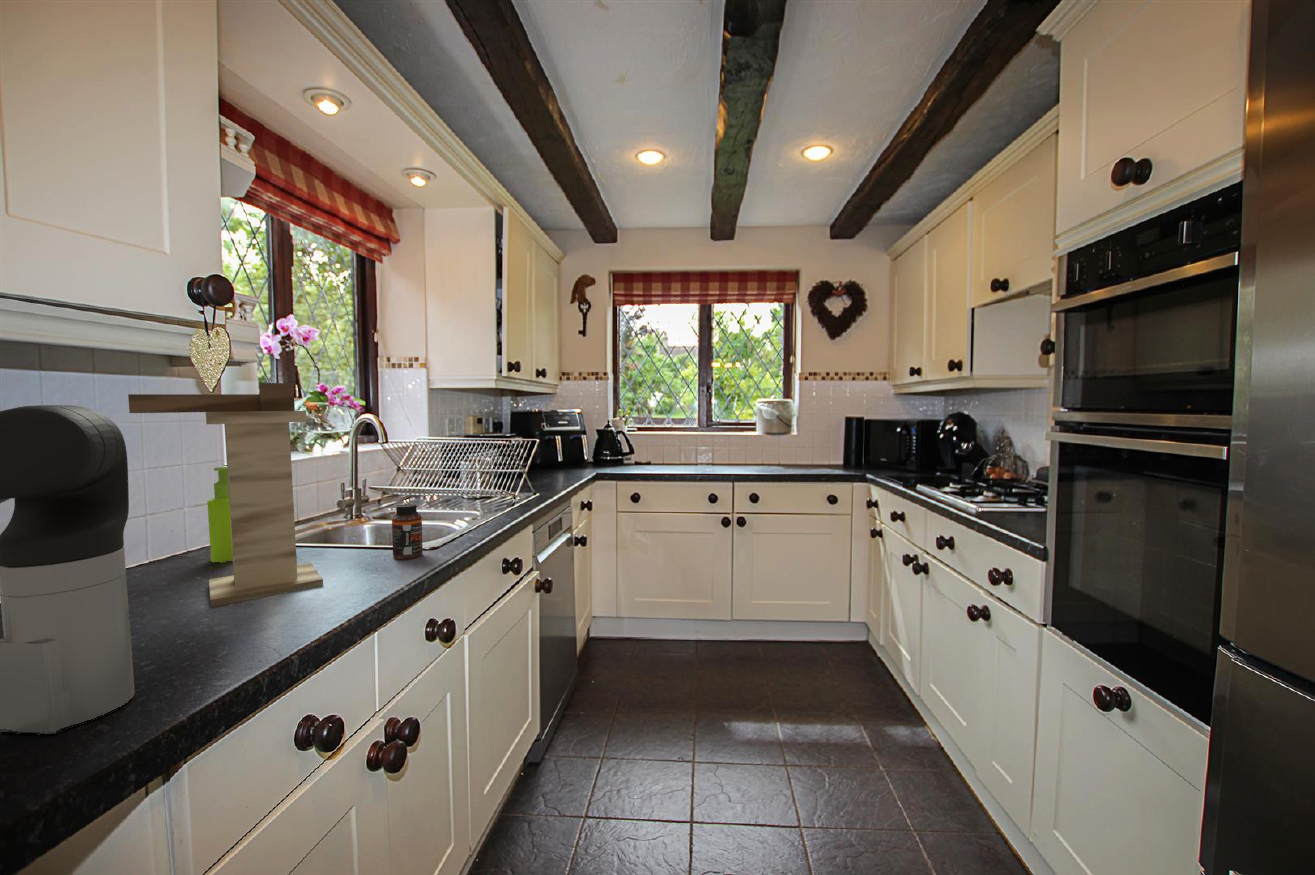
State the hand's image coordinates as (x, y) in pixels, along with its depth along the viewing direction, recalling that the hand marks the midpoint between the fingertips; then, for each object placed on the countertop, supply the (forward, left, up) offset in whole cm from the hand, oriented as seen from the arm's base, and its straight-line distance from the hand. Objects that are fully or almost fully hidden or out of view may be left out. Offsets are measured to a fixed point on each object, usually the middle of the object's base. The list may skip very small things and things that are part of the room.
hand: (90, 432), depth 85 cm
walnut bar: (+11, -11, +3) cm, 16 cm away
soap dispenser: (+31, +7, -29) cm, 43 cm away
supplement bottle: (+35, -31, -29) cm, 55 cm away
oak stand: (+15, -15, -29) cm, 36 cm away
